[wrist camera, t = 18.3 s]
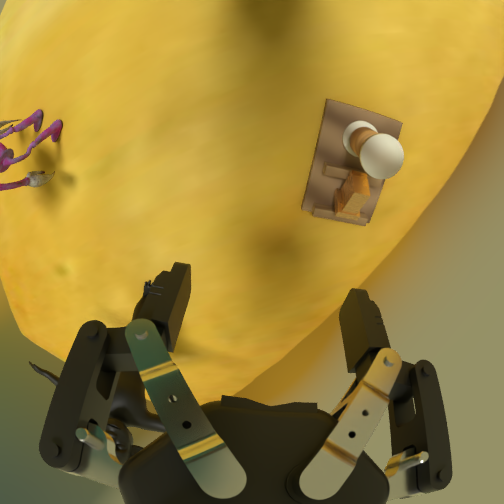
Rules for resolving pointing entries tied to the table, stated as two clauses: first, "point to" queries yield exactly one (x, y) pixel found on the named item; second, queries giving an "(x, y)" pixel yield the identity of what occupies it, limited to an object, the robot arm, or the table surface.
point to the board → (351, 157)
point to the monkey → (125, 404)
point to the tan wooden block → (352, 196)
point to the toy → (3, 157)
